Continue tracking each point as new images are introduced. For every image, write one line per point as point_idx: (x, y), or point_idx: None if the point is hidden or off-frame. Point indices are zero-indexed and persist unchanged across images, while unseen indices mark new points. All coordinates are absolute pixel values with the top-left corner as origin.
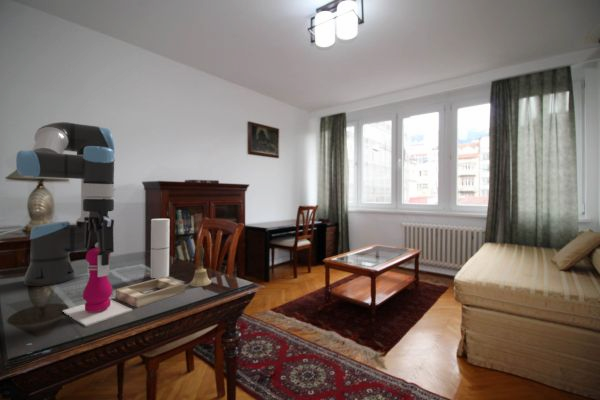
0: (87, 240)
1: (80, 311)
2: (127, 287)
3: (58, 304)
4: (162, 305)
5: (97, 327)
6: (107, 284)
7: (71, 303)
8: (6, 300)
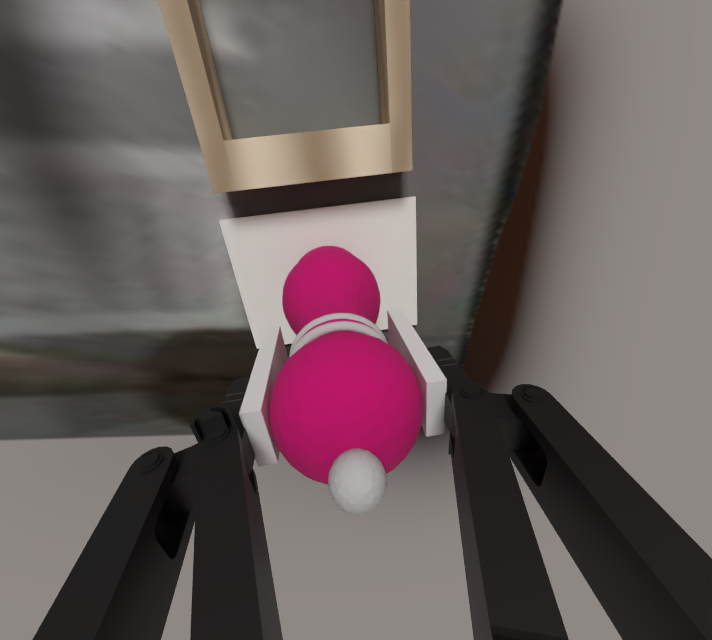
0: (173, 568)
1: None
2: (220, 137)
3: (169, 345)
4: (461, 82)
5: (443, 304)
6: (367, 288)
7: (185, 318)
8: (25, 438)
